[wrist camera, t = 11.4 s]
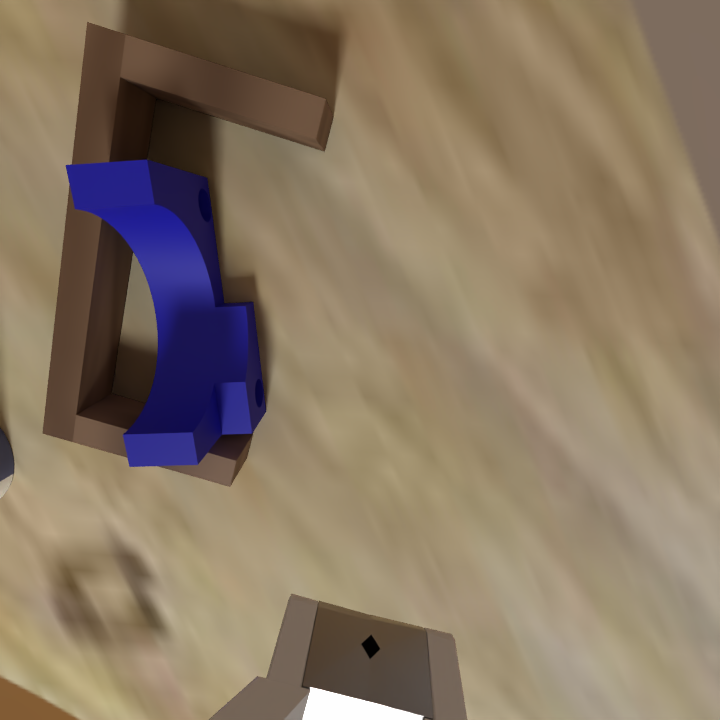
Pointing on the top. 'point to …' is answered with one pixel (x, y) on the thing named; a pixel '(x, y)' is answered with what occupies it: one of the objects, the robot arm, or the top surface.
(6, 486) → the water bottle
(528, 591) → the top surface
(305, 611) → the robot arm
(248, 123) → the bracket
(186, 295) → the cable clip
